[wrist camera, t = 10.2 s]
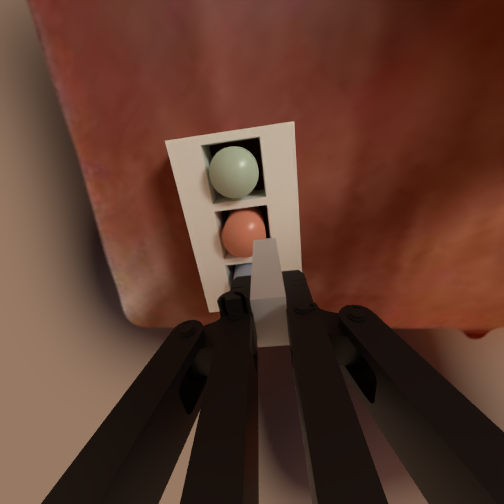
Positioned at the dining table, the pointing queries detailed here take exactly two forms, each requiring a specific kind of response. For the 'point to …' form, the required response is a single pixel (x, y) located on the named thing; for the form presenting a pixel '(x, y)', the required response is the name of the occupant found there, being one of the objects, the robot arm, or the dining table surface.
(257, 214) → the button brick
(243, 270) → the button slate
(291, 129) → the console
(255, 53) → the dining table surface
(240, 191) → the button sage
